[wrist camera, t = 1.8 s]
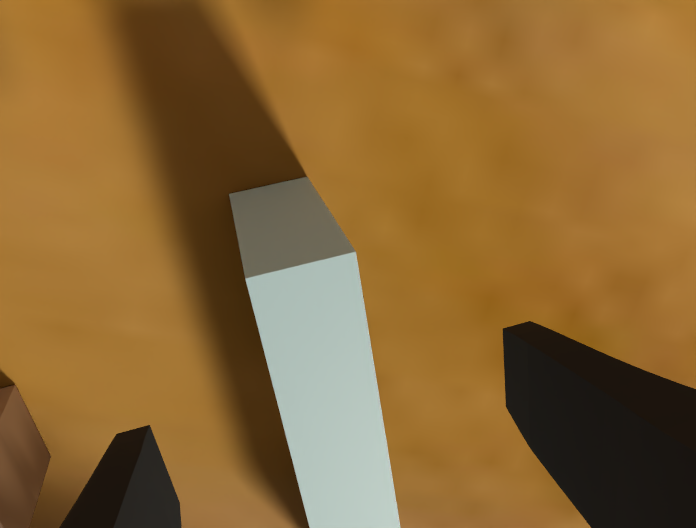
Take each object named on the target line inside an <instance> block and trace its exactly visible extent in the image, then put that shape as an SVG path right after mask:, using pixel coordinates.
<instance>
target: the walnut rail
mask: <svg viewBox="0 0 696 528" xmlns="http://www.w3.org/2000/svg"><path fill="white" fill-rule="evenodd" d="M50 458H51V456H50V454H49V452H48V450H47V448H46V446H45V444H44V442H43V440H42V438H41V436H40V434H39V432H38V430H37V428H36V426H35V424H34V422H33V420H32V418H31V416H30V414H29V412H28V410H27V407H26V405H25V403H24V401H23V399H22V397H21V395H20V393H19V391H18V389H17V387H16V385H12V386H8V387H4V388H0V528H29V527H30V523H31V520H32V517H33V514H34V510H35V507H36V504H37V500H38V497H39V494H40V491H41V487H42V484H43V481H44V477H45V474H46V471H47V467H48V464H49V461H50Z"/></svg>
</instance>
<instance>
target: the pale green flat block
mask: <svg viewBox="0 0 696 528" xmlns="http://www.w3.org/2000/svg"><path fill="white" fill-rule="evenodd" d="M229 197H230V202H231V207H232V212H233V217H234V223H235V228H236V233H237V238H238V243H239V249H240V254H241V259H242V264H243V269H244V275H245V279H246V283H247V287H248V291H249V295H250V299H251V303H252V307H253V310H254V314H255V318H256V322H257V326H258V330H259V334H260V338H261V341H262V345H263V349H264V353H265V357H266V361H267V365H268V369H269V372H270V376H271V380H272V384H273V388H274V392H275V396H276V400H277V403H278V407H279V411H280V415H281V419H282V423H283V427H284V430H285V434H286V438H287V442H288V446H289V450H290V454H291V458H292V461H293V465H294V469H295V473H296V477H297V481H298V485H299V489H300V492H301V496H302V500H303V504H304V508H305V512H306V516H307V520H308V523H309V527H310V528H400V522H399V516H398V510H397V503H396V497H395V491H394V485H393V479H392V472H391V466H390V460H389V454H388V448H387V442H386V435H385V429H384V423H383V417H382V411H381V405H380V398H379V392H378V386H377V380H376V374H375V368H374V361H373V355H372V349H371V343H370V337H369V331H368V324H367V318H366V312H365V306H364V300H363V294H362V287H361V281H360V275H359V269H358V263H357V257H356V251H355V250H354V248H353V247H352V245H351V244H350V242H349V241H348V239H347V237H346V236H345V234H344V233H343V231H342V230H341V228H340V227H339V225H338V223H337V222H336V220H335V219H334V217H333V216H332V214H331V213H330V211H329V210H328V208H327V206H326V205H325V203H324V202H323V200H322V199H321V197H320V196H319V194H318V192H317V191H316V189H315V188H314V186H313V185H312V183H311V182H310V180H309V179H308V177H303V178H299V179H294V180H290V181H285V182H281V183H276V184H272V185H267V186H263V187H258V188H253V189H249V190H244V191H240V192H235V193H231V194H229Z"/></svg>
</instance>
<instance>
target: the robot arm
mask: <svg viewBox="0 0 696 528" xmlns="http://www.w3.org/2000/svg"><path fill="white" fill-rule="evenodd" d="M503 346H504V369H505V393H506V407H507V409H508V411H509V413H510V414H511V416H512V418H513V420H514V422H515V423H516V425H517V427H518V429H519V430H520V432H521V434H522V435H523V437H524V439H525V440H526V442H527V444H528V445H529V447H530V448H531V450H532V451H533V452H534V454H535V455H536V456H537V458H538V459H539V460H540V462H541V463H542V464H543V466H544V467H545V468H546V470H547V471H548V472H549V474H550V475H551V476H552V477H553V479H554V480H555V481H556V483H557V484H558V485H559V487H560V488H561V489H562V490H563V492H564V493H565V494H566V496H567V497H568V498H569V499H570V501H571V502H572V503H573V505H574V506H575V507H576V508H577V510H578V511H579V512H580V514H581V515H582V516H583V517H584V519H585V520H586V521H587V523H588V524H589V525H590V526H591V528H696V389H694V388H691V387H688V386H685V385H682V384H679V383H676V382H674V381H671V380H668V379H666V378H663V377H660V376H658V375H655V374H652V373H650V372H647V371H645V370H642V369H640V368H637V367H635V366H632V365H630V364H627V363H625V362H623V361H620V360H618V359H615V358H613V357H611V356H609V355H606V354H604V353H602V352H599V351H597V350H595V349H593V348H590V347H588V346H586V345H584V344H582V343H579V342H577V341H575V340H573V339H570V338H568V337H566V336H564V335H562V334H559V333H557V332H555V331H553V330H550V329H548V328H546V327H543V326H541V325H539V324H536V323H533V322H531V321H529V322H525V323H521V324H518V325H514V326H511V327H507V328H503ZM60 528H181V516H180V502H179V500H178V497H177V495H176V492H175V489H174V487H173V484H172V482H171V479H170V476H169V474H168V471H167V469H166V466H165V464H164V461H163V458H162V456H161V453H160V451H159V448H158V445H157V443H156V440H155V438H154V435H153V433H152V430H151V427H150V425H148V426H144V427H140V428H137V429H133V430H129V431H126V432H122V433H118V434H116V436H115V437H114V439H113V440H112V442H111V444H110V445H109V447H108V449H107V450H106V452H105V454H104V455H103V457H102V459H101V461H100V462H99V464H98V466H97V467H96V469H95V471H94V472H93V474H92V476H91V478H90V479H89V481H88V483H87V484H86V486H85V488H84V489H83V491H82V493H81V494H80V496H79V497H78V499H77V501H76V502H75V504H74V505H73V507H72V509H71V510H70V512H69V513H68V515H67V517H66V518H65V520H64V521H63V523H62V525H61V526H60Z"/></svg>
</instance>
